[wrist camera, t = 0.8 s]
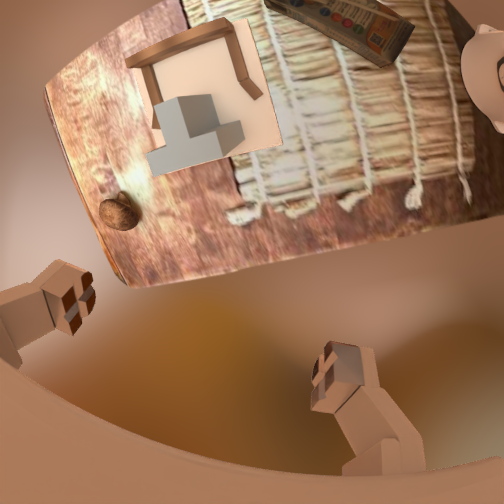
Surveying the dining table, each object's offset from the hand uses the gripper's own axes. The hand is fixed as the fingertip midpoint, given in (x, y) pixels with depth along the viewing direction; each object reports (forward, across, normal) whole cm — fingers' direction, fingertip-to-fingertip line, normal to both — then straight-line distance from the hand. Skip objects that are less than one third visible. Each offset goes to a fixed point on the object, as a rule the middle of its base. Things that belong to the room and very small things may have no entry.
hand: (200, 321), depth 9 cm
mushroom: (+38, +24, +18) cm, 48 cm away
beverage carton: (+36, -4, -21) cm, 42 cm away
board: (+37, +12, -4) cm, 39 cm away
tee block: (+36, +10, -1) cm, 37 cm away
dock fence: (+36, +14, -8) cm, 39 cm away
